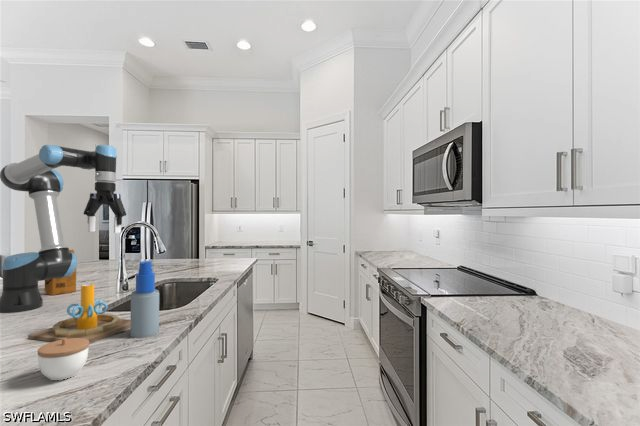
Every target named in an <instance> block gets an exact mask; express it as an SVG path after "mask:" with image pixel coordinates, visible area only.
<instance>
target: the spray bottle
mask: <svg viewBox="0 0 640 426" xmlns="http://www.w3.org/2000/svg"><path fill="white" fill-rule="evenodd" d="M152 263H153V262H152V260H143V261H139V268H138V273H136V274H135V290H134V291H132V292H131V295H130V320H131V327H130V328H129V329H130V330H129V331H130V332H129V333H130V335H129V336H130V337H131V338H138V339H143V338H149V337H153V336H155V335H157V334H159V333H160V291H159V290H158V289H156V288H155V285H156V283H155V282H156V278H155V277H156V274H155V272H153V267H152V265H153V264H152Z"/></svg>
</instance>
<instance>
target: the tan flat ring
mask: <svg viewBox="0 0 640 426" xmlns="http://www.w3.org/2000/svg"><path fill="white" fill-rule="evenodd" d="M119 319H120V317H119V316H117V315H116V314H108V313H103V314H97V321H98V320H104V321H111V322H109V323H107V324H104V325H101V326H96V327H91V328H86V329H62V328H63V327H66V326H69V325H72V324H75V323H77V318H73V317H70V318H67V319H63V320H61V321H58V322H57V323H55V324H54V325H52V327H53V333H54V335H55V336H62V337H78V336H88V335H93V334H97V333H102V332H105V331H108V330H111V329H113V328H116V326H117V325H118V324H119Z"/></svg>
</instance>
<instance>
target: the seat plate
mask: <svg viewBox="0 0 640 426" xmlns="http://www.w3.org/2000/svg"><path fill="white" fill-rule="evenodd" d="M109 322H111V321H104V320H98V321H97V326H101V325H104V324H107V323H109ZM130 327H131V319H127V318H119V324H118V325H117V326H116V328H113V329H111V330H108V331H105V332H102V333H97V334H93V335H88V336H78V337H62V336H55V335H54V333H53V326H52V327H50V328H45V329H43V330H41V331H37V332H34V333H30V334H27V339H28V340H34V341H43V342H48V343H50V342H54V341H58V340H62V339H63V338H67V339H70V338H84V339H87V340H89V345H90V343H91V344H93V343H95V342H98V341H101V340H103V339H105V338H108V337H109V336H112V335H115V334H117V333H120V332H123V331H124V330H127V329H130ZM62 329H77V323H75V324H72V325H69V326H66V327H63V328H62Z"/></svg>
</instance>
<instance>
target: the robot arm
mask: <svg viewBox="0 0 640 426" xmlns="http://www.w3.org/2000/svg"><path fill="white" fill-rule="evenodd" d="M117 158H118V157H117V148H116V147H114V146H112V145H107V144H97V145H95V150H94V151H89V150H84V149H77V148H71V147H65V146H61V145H59V146H58V145H53V144H44V145H42V146H41V148H39V153H38V154H36V155H33V156H31V157H28V158H27V159H25V160H21V161H19V162H11V163H9V164H7V165H5V166H3V167H2V169H1V170H0V181H1V182H2V184H3V185H4V186H5V187H7V188H9V189H10V190H13V191H18V192H28V197H29V198H31V200H33V203H34V209H35V216H36V222H37V227H38V228H37V229H38V233H39V241H40V246H41V248H40V250H39V251H37V252H34V251H32V252H22V253H21V252H20V253H16V254H12V255H8V256H6V257H5V258H4V259H3V261H2V262H3V263H2V268H1V269H2V292H1V295H0V313H16V312H18V313H19V312H24V311H30V310H35V309H38V308H41V307H42V306H43V303H44V300H43V298H42V297H43V296H42V295H41V292H40V289H39V282H42V281H45V280H49V279H56V278H62V277H67V276H70V275H71V274H72V273H73V272H74V271H75V269H76V270H77V266H78V264H77V263H78V260H77V256H76V254H74V253H75V252H74V253H73V252H69V250H70V249H69V247H68V246H67V245H65V241H64V234H63V229H62V225H61V223H62V222H61V217H60V211H59V207H58V200H57V197H59V196H60V193H61V192H62V191H63V189H64V179H63V176H62V174H61V173H60V172H59V171H57V170H56V169H57V168H59V167H64V166H65V167H72V168H80V169H82V170H88V171H89V170H94V171H95V172H94V174H95V176H94V180H95V183H94V191H96V193H93V192H92V193H91V192H90V194H89V199H88V202H87V204H86V206H85V209H84V211H83V215H86V216H87V224H88V225H87V226H88V227H87V230H88V233H90V232H92V233H93V232H96V214H97V211H98V210H99V209H100V208H101V206H103V205H107V206H108V207H110V210H111V211H112V213H113V214H114V217H113V233H114V234H120V233H121V232H122V231H121V230H122V229H121V226H122V224H123V221H122V220H123V217H124V216H125V217H126V216H127V212H126V209H125V207H124V204H123V202H122V199H121V194H120V193H115V192H116V180H117V176H116V174H117V173H116V171H117Z"/></svg>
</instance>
